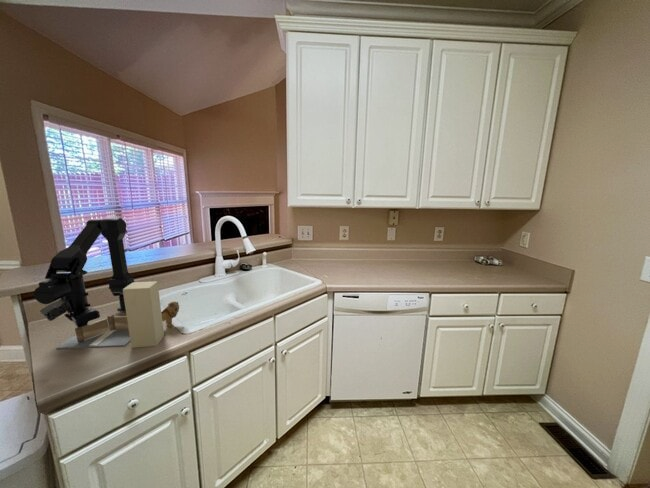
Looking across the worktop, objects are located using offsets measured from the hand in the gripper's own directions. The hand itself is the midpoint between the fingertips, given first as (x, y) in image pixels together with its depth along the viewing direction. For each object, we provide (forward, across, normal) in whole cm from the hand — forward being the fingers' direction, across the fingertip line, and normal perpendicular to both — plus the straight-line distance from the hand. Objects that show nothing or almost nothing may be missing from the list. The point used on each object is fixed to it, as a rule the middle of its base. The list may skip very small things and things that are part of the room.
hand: (82, 332), depth 94 cm
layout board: (+3, +3, +7) cm, 8 cm away
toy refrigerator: (+2, +21, +12) cm, 24 cm away
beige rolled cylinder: (+2, +3, +2) cm, 4 cm away
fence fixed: (+2, +6, +11) cm, 13 cm away
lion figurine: (+2, +15, +19) cm, 24 cm away
